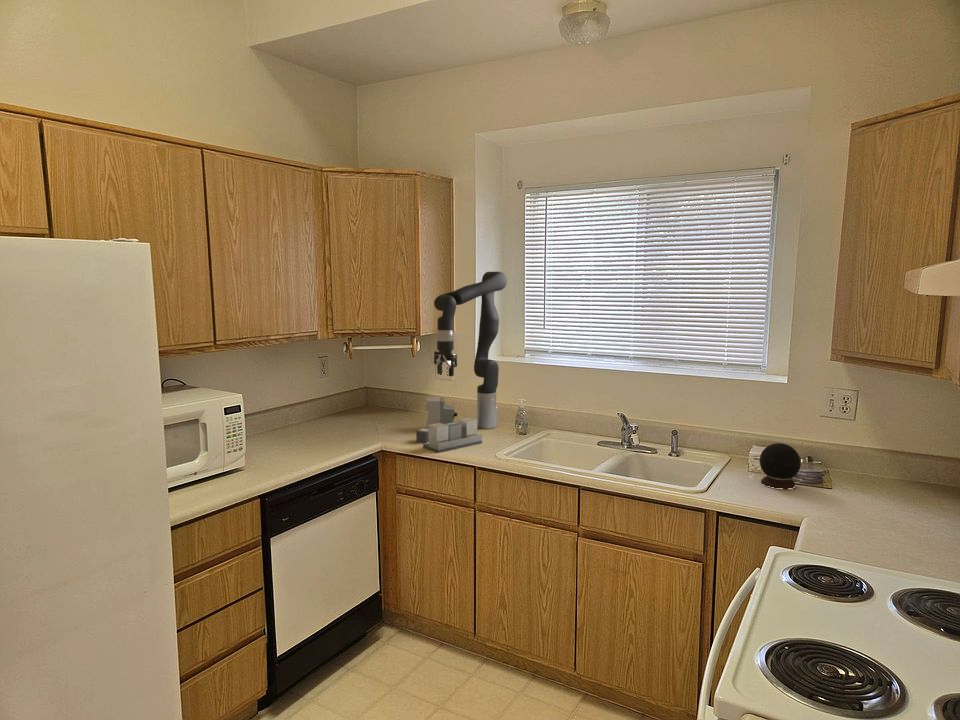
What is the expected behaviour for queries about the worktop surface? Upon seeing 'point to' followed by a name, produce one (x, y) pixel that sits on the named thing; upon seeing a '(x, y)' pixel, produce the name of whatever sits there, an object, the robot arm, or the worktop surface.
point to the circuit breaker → (439, 412)
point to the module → (454, 431)
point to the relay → (422, 435)
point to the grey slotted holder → (441, 443)
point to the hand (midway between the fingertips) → (445, 375)
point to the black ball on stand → (779, 465)
